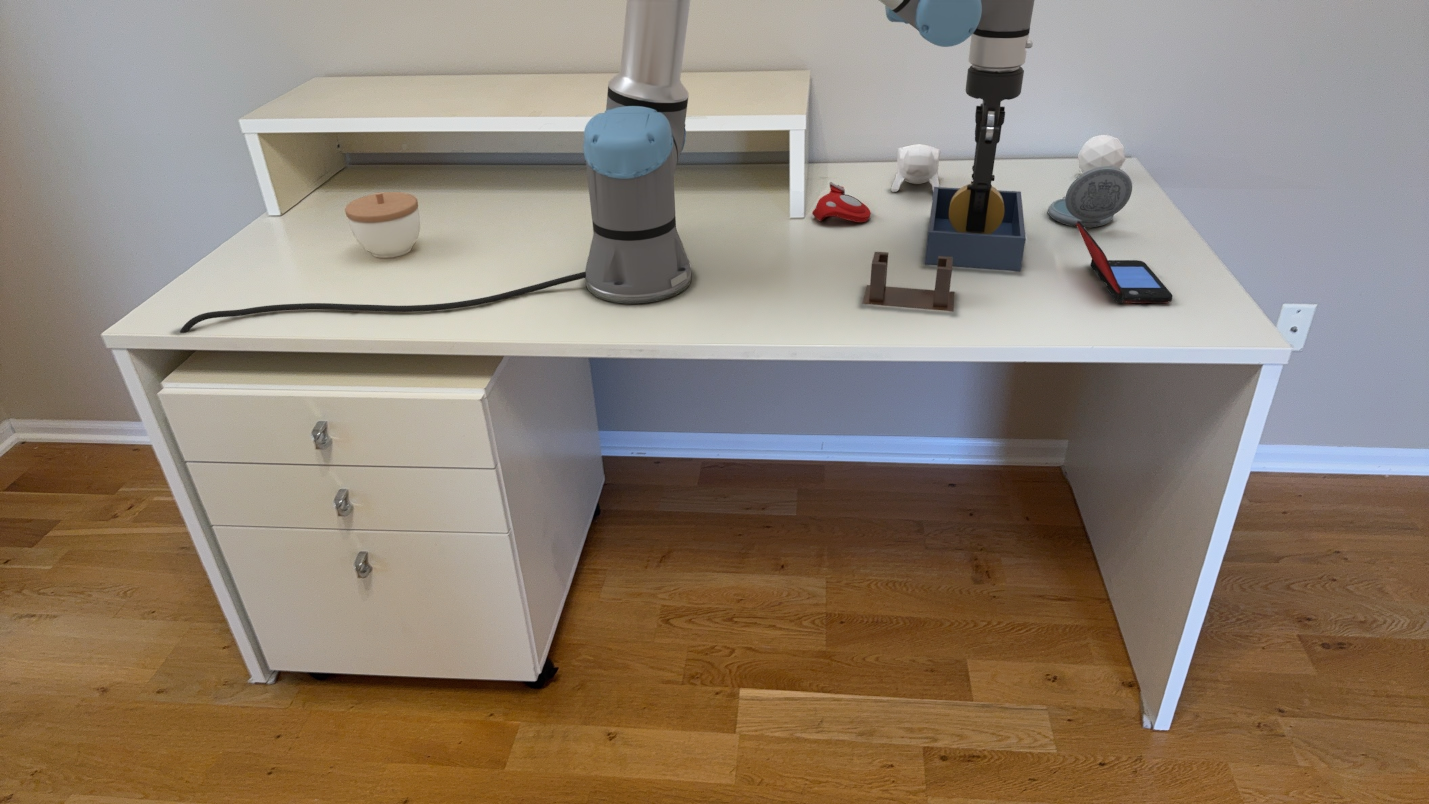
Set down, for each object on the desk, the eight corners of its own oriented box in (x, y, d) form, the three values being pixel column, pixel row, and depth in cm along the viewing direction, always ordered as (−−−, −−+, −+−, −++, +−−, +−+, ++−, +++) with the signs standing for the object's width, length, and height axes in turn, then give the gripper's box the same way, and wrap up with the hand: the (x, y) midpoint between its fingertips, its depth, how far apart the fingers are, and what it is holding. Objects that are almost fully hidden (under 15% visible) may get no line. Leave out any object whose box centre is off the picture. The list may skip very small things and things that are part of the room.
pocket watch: (1073, 167, 136) (1048, 138, 148) (1060, 236, 141) (1037, 202, 154) (1142, 167, 135) (1111, 137, 147) (1126, 236, 141) (1098, 202, 153)
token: (1004, 236, 137) (1003, 184, 133) (949, 240, 139) (947, 189, 135) (1004, 231, 138) (1003, 180, 134) (950, 235, 141) (947, 185, 137)
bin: (1019, 274, 130) (1025, 238, 127) (924, 267, 133) (928, 231, 130) (1015, 224, 146) (1021, 191, 143) (930, 219, 149) (934, 186, 146)
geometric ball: (1101, 190, 166) (1133, 153, 163) (1103, 188, 159) (1137, 150, 156) (1067, 164, 167) (1099, 127, 164) (1068, 161, 160) (1101, 123, 157)
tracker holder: (885, 212, 149) (840, 211, 143) (874, 235, 151) (830, 235, 146) (841, 176, 156) (797, 173, 150) (832, 199, 159) (788, 197, 153)
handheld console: (1174, 305, 121) (1188, 253, 117) (1090, 305, 121) (1102, 253, 117) (1142, 266, 131) (1154, 217, 127) (1065, 266, 132) (1075, 218, 128)
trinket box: (354, 244, 146) (340, 187, 141) (422, 233, 150) (410, 177, 145) (359, 269, 138) (343, 210, 133) (431, 256, 141) (418, 198, 136)
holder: (954, 295, 125) (959, 254, 122) (953, 314, 120) (958, 273, 117) (866, 288, 128) (869, 248, 125) (862, 306, 123) (864, 266, 120)
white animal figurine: (891, 193, 168) (890, 190, 154) (895, 145, 166) (894, 138, 152) (938, 195, 166) (942, 192, 152) (943, 147, 165) (947, 139, 150)
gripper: (1026, 79, 118) (1001, 248, 131) (1022, 54, 131) (999, 210, 143) (967, 78, 120) (948, 244, 133) (968, 53, 132) (951, 208, 145)
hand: (975, 226), depth 138 cm, fingers closed on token, 2 cm apart
